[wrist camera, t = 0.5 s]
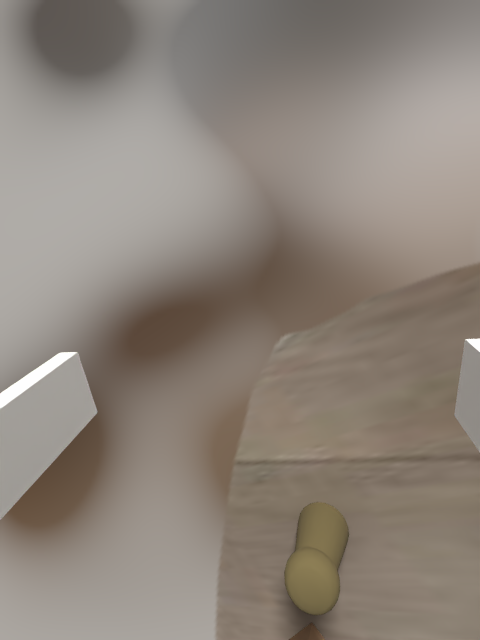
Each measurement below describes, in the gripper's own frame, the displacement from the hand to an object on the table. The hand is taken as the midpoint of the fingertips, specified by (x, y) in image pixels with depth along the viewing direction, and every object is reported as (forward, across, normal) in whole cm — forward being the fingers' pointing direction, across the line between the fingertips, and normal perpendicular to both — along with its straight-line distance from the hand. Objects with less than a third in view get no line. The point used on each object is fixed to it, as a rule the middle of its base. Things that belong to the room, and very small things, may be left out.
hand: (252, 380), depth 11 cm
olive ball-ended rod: (+19, -3, +33) cm, 38 cm away
